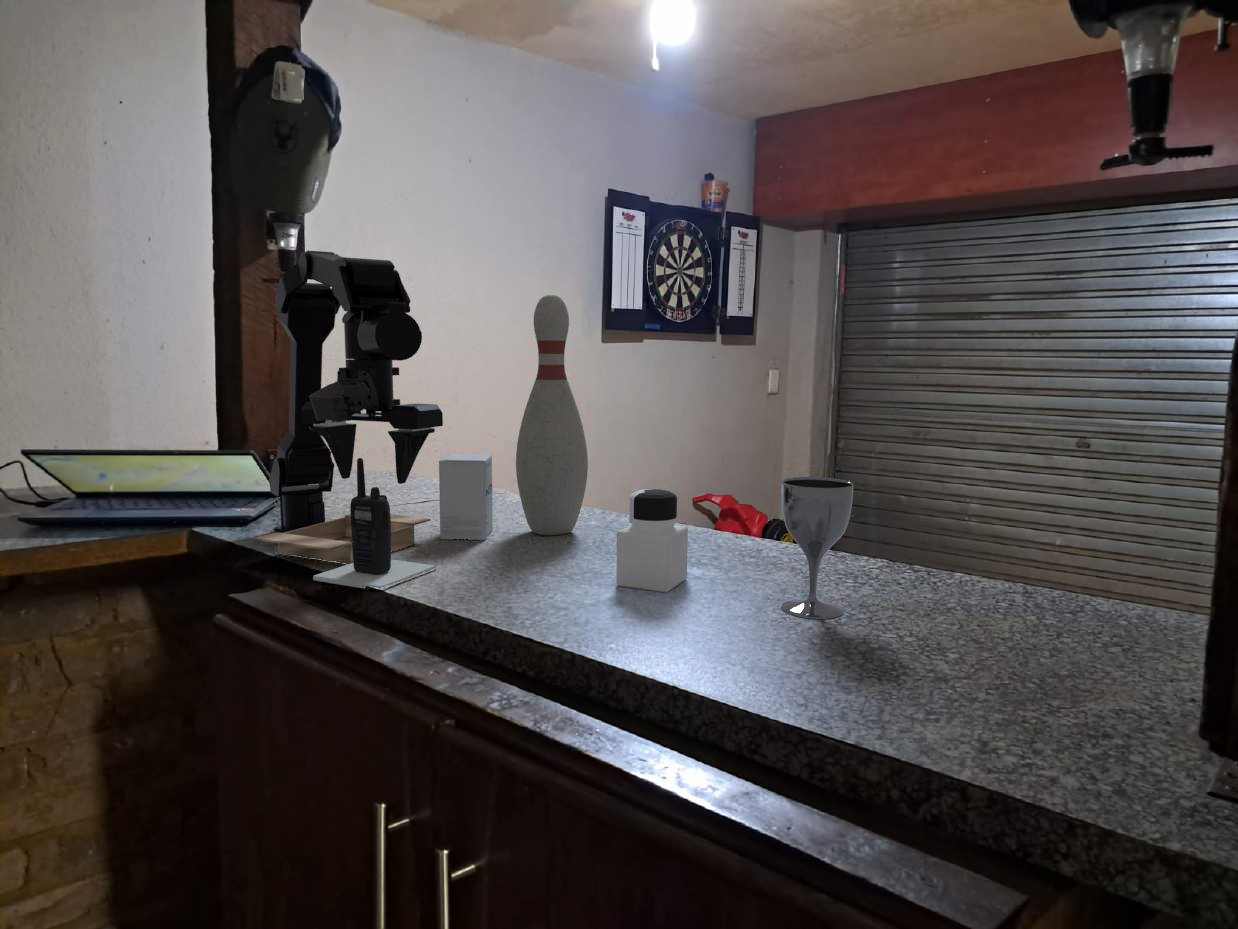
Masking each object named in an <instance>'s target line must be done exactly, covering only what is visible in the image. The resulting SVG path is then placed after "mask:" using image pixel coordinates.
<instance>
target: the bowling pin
mask: <svg viewBox="0 0 1238 929" xmlns="http://www.w3.org/2000/svg"><path fill="white" fill-rule="evenodd" d="M569 326H570V316H569V312H568V308H567V305H566V303H565V302H564V300H563V299H562V297H560V296H558V295H556V294H555V295H554V294H547V295H543V296H542V297H541V298H540V299H539V300H538V302H537V303H536V306H535V309H534V312H533V328H534V335H535V339H536V344H537V350H538V352H537V354H538V357H537V358H538V368H537V374H536V377H535V380H534V382H533V386H532V389H531V391H530V394H529V397H528V400H527V403H526V406H525V408H524V412H523V415H522V420H521V422H520V428H519V432H518V437H517V443H516V454H515V470H516V472H515V473H516V482H517V487H518V492H519V497H520V502H521V506H522V510H523V514H524V517H525V519H526V523H527V524H528V527H529V529H530V530H531V531H532V532H533V533H534V534H537V535H540V536H557V535H559V536H560V535H565V534H569V533H570V532H572V531H573V530H574V529H575V527H576V524H577V522H578V519H579V517H580V513H581V510H582V505H583V502H584V497H585V494H586V486H587V481H588V472H589V471H588V468H589V460H588V457H589V456H588V448H587V441H586V436H585V431H584V427H583V426H584V425H583V421H582V419H581V415H580V411H579V409H578V405H577V402H576V400H575V397H574V394H573V391H572V388H571V386H570V383H569V381H568V378H567V375H566V374H567V373H566V368H565V349H566V344H567V338H568V334H569V328H570V327H569Z"/></svg>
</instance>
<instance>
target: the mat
mask: <svg viewBox="0 0 1238 929" xmlns="http://www.w3.org/2000/svg"><path fill="white" fill-rule="evenodd" d="M434 568H436V569H437V565H431V564H425V563H419V562H413V561H412V562H411V561H405V560H399V559H398V560H396V559H392V558H391V568H390V570H389V571H387V572H385V573H381V574H379V575H377V574H375V573H367V572H360V571H359V572H357V571H355V570H354V565H353V563H351V564H348V565H342V566H339V567H336V568H332V569H330V570H326V571H324V572H321V573H317V574H315V575H312V576H313V577H312V580H313V581H317V582H321V583H322V582H323V583H327V584H335V585H340V586H348V587H352V588H360V589H365V588H366V586H372V587H378V588H381V587H384V586H386V585H391V584H393V583H396V582H400V581H402V580H405V579H407V578H411V577H413V576H415V575H419V574H422V573H423V572H428V571H430V570H431V569H434ZM365 590H366V589H365Z"/></svg>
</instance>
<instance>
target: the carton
mask: <svg viewBox="0 0 1238 929" xmlns="http://www.w3.org/2000/svg"><path fill="white" fill-rule="evenodd" d="M390 516H391V551H394V552H397V551H399V550H398V549H400V550H402V549H401V548H404V549H407V548H409V547H408V546H410V545H413V544H415V526H417V525H421V524H424V523H428V522H430V521H431V520H432V519H431V518H428V517H427V518H426V517H418V516H410V515H400V514H393V513H390ZM340 537H341V538H344V537H348V538H352V530H351V513H349V514H345V515H344V516H343V517H340V518H336V519H332V520H328V521H325V522H324V523H320V524H316V525H312V526H308V527H304V528H300V529H296V530H292V531H288V532H280V531H275V532H273V533H269V534H265V535H261V536H256V537H254V541H258V542H260V541H261V542H265V543H273V544H277V554H278V553H281V554H286V555H297V556H301V557H307V558H316V559H321V560H326V561H336V562H340V563H346V564H351V563H353V550H352V541H345V540H344V541H343V540H338V539H341V538H340ZM337 538H338V539H337ZM415 545H416V544H415ZM413 546H414V545H413ZM406 547H407V548H406ZM410 547H411V546H410ZM396 550H397V551H396Z"/></svg>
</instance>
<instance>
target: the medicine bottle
mask: <svg viewBox="0 0 1238 929" xmlns="http://www.w3.org/2000/svg"><path fill="white" fill-rule="evenodd" d="M677 516H678V495H676V494H675V493H674V492H673V491H669V490H666V489H660V488H646V489H639V490H636V491H634V492H632V493H631V494H630V496H629V519H628V520H629V523H630V524H631V525H628V526H626V527H625V528H623V529H620V530H618V531H617V532H616V573H615V574H616V582H615V584H616V585H617V587H622V588H623V587H625V588H630V589H639V590H645V591H653V592H660V593H661V592H662V593H668V592H670V591H671V590H673V589H674V588H676V587H678V585H681V583H682V582H685V581H686V580H687V578H688V547H689V546H688V545H689V544H688V543H689V542H688V541H689V536H688V535H689V528H688V526H686V525H685V526H684V525H678V524H677V522H678V520H677V519H678V517H677Z"/></svg>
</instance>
